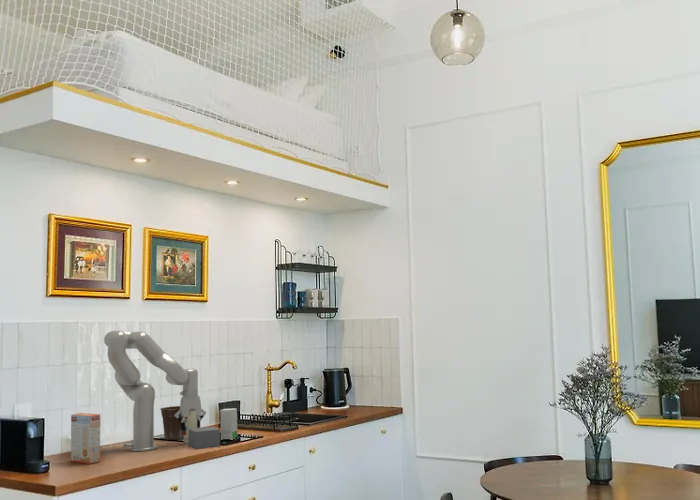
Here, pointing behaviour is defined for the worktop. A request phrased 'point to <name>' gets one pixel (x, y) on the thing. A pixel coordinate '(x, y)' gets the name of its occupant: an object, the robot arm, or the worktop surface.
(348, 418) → the worktop surface
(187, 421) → the aerosol can
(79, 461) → the cracker box
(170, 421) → the plant pot
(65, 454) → the worktop surface
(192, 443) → the stand
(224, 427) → the skincare box
